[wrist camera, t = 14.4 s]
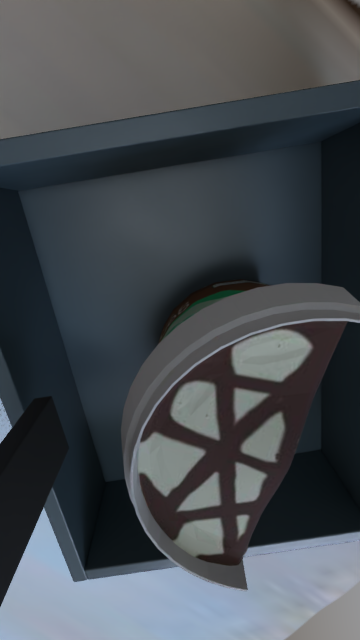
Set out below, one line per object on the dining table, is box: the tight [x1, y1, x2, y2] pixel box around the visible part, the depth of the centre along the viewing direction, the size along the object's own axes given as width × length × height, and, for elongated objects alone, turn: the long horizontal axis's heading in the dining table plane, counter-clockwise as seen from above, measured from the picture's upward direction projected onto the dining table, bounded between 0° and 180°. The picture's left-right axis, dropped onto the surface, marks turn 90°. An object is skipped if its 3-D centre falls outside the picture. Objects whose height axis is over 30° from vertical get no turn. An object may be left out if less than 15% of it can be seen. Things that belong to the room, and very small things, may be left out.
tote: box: [0, 80, 360, 582], centre depth 17 cm, size 18×22×7 cm
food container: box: [121, 279, 360, 591], centre depth 14 cm, size 12×6×10 cm, turn 166°
